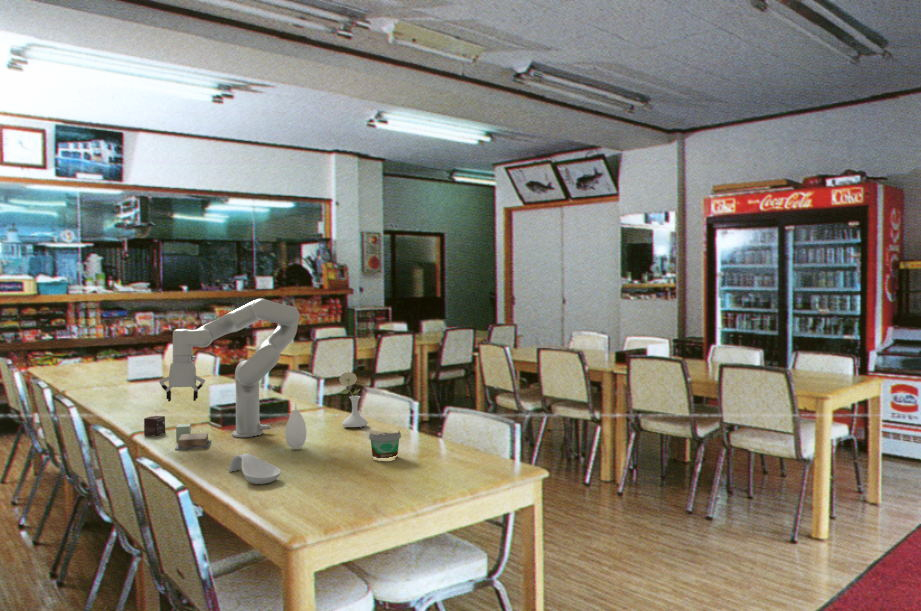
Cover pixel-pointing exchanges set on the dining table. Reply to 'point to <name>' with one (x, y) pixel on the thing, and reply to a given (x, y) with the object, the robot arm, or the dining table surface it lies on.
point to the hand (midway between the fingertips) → (182, 400)
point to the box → (154, 425)
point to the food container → (385, 444)
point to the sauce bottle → (295, 430)
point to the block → (182, 430)
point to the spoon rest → (255, 469)
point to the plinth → (193, 441)
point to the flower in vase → (354, 418)
